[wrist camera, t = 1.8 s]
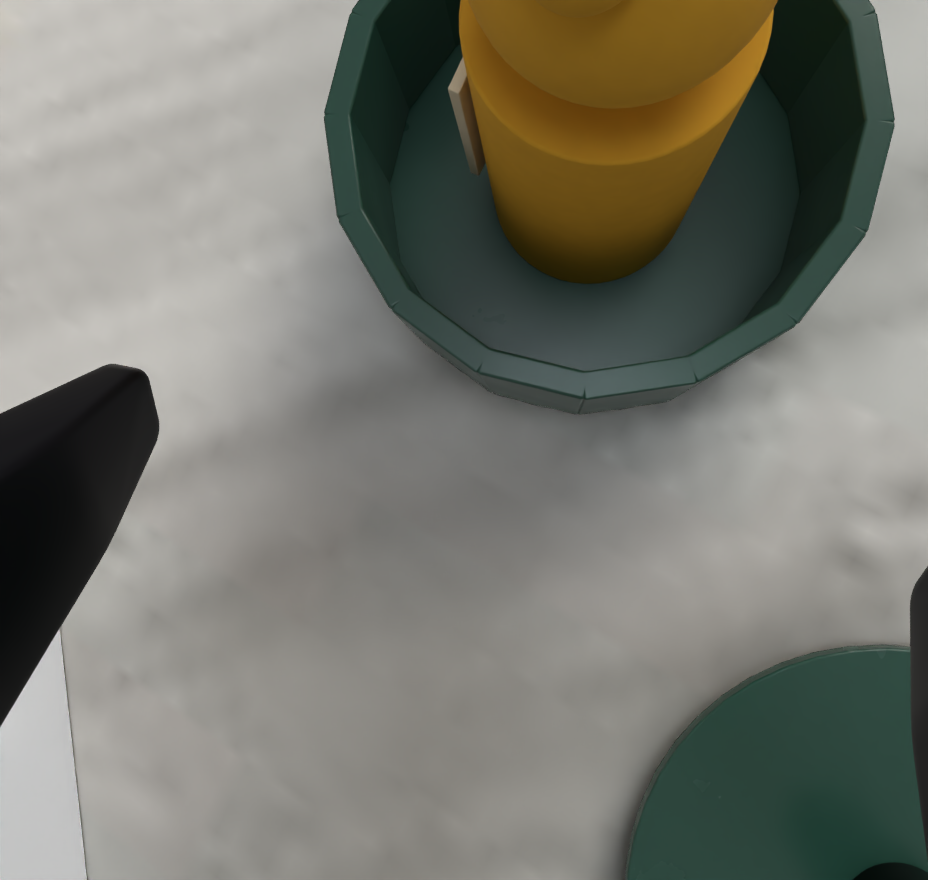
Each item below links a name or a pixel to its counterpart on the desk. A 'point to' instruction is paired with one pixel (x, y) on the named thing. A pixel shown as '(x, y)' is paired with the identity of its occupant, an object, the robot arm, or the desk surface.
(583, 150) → the toy
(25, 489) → the robot arm
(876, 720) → the pot lid
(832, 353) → the desk surface
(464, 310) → the pot
